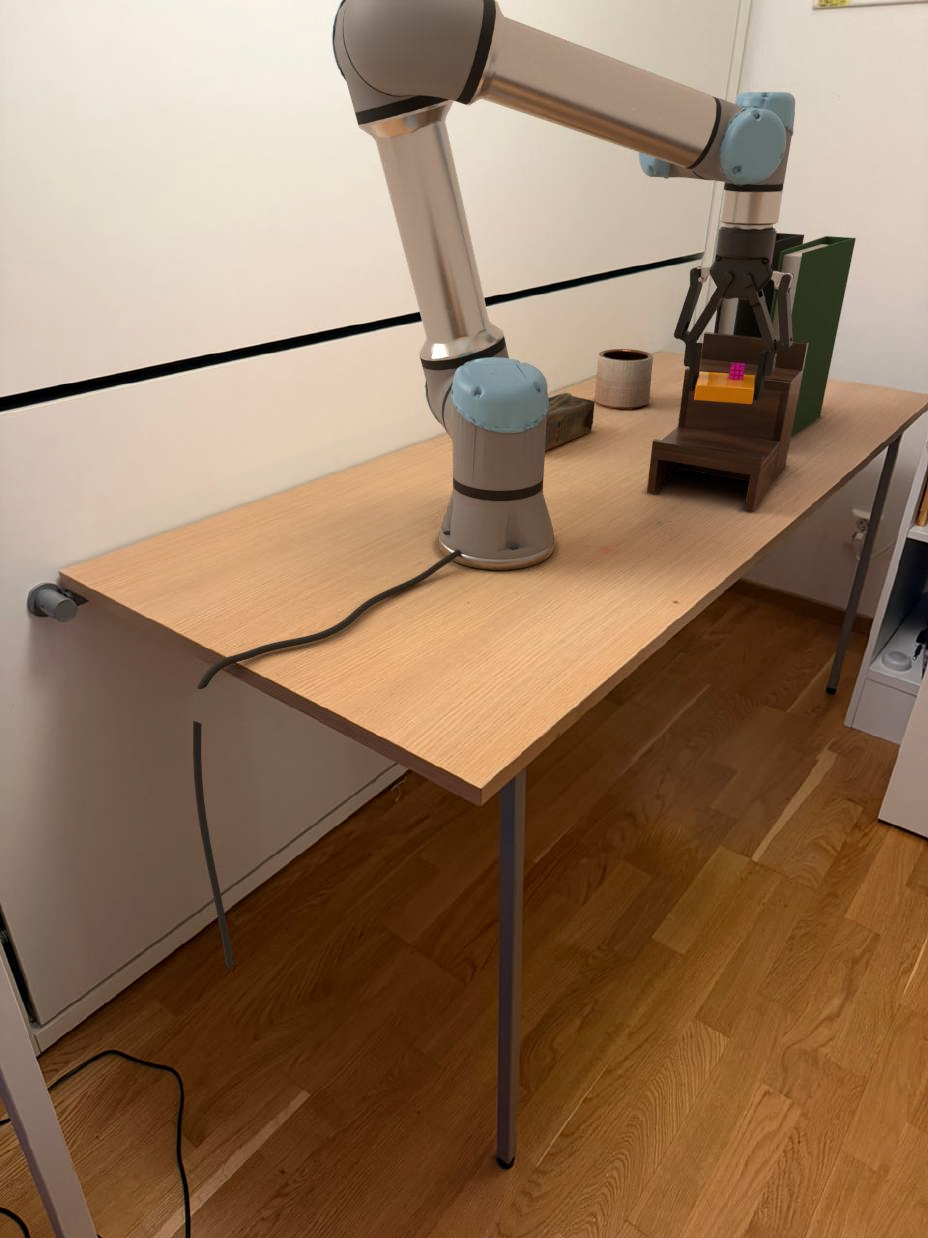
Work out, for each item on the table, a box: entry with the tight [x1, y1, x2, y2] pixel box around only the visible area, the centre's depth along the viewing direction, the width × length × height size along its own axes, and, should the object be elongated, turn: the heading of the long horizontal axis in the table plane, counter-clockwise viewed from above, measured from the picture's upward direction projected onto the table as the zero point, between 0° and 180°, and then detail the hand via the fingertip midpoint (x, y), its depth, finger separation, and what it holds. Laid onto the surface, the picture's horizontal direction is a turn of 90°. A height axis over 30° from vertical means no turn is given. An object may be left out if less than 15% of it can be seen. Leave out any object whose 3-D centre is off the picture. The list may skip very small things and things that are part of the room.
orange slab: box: [694, 362, 755, 404], centre depth 129 cm, size 8×8×4 cm
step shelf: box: [646, 331, 808, 513], centre depth 137 cm, size 23×16×20 cm
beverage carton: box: [545, 392, 596, 451], centre depth 157 cm, size 8×19×7 cm, turn 140°
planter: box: [594, 348, 654, 410], centre depth 178 cm, size 11×11×10 cm
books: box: [713, 232, 856, 438], centre depth 159 cm, size 27×15×32 cm, turn 145°
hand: (724, 393), depth 130 cm, fingers closed on orange slab, 9 cm apart
